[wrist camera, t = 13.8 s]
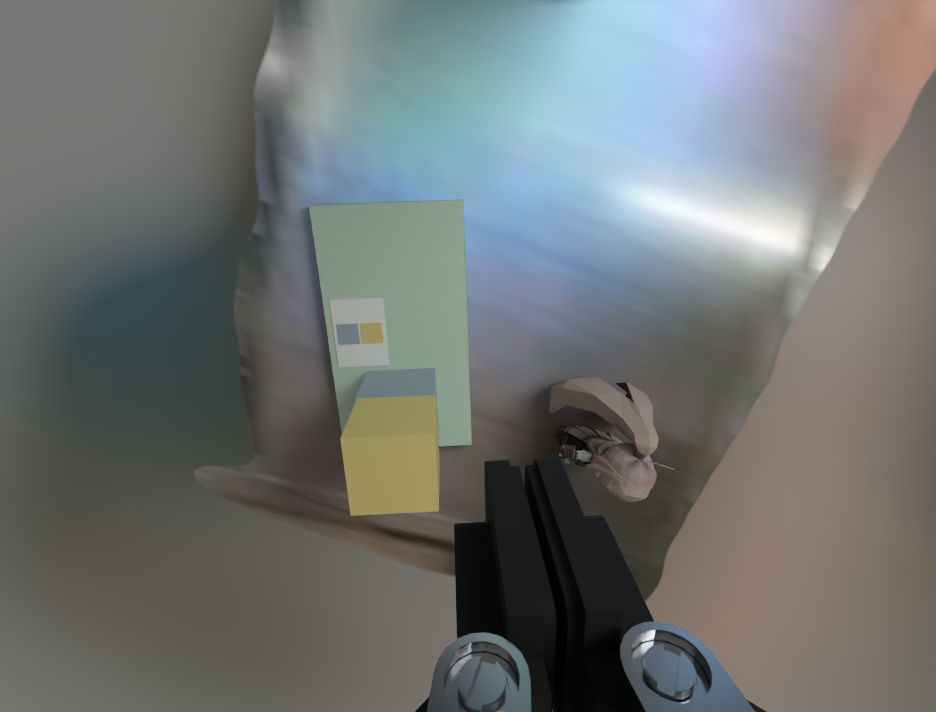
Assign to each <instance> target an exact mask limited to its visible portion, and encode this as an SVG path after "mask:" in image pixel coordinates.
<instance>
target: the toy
mask: <svg viewBox="0 0 936 712" xmlns="http://www.w3.org/2000/svg"><path fill="white" fill-rule="evenodd" d="M616 384H617V385H618V386H620V387H621V388H622V389H623V390H625V391H626V392H627V394H626V396H624V395H623V394H622V393H621V392H619V391H618V390H616V389H615V388H613V387H612V386H610V385H609V384H607V383H606V382H605V381H603V380H602V379H600V378H599V377H577V378H573V379H569V380H565V381H562V382H558V383H555V384H553V385H551V393H550V414H552V413H553V412H555V411H557V410H559V409H561V408H562V407H564V406H566V405H568V406H572V407H576V408H579V409H583V410H587V411H591V412H594V413H596V414H598V415H599V416H601V417H602V418H603V419H605V420H606V421H608V422H609V423H611V424H612V425H613V426H615V427H616V428H617V429H618V430H619V431H621V432H622V433H623V434H624V435H625V436H626V437H628V438H629V439H630V440H631V441H632V442H633V444H631V443H623V442H622V441H620V440H619V439H617V438H616V437H614V436H612V435H611V434H609V433H606V434H605V433H604V432H602V431H600V430H596V429H593V428H589V427H584V426H575V427H577V428H578V429H580V430H578V429H576V428H574V427H571V426H562V427H560V428H558V430H561V431H565V432H567V433H558V436H557V442H559V443H560V444H561V445H562V447H560V450H559V453H562V454H559V456H562V457H563V458H561V462H562V465H563V466H565V465H566V464H569V463H571V464H573V463H574V462H575V463H576V464H577V465H579V466H583V467H586V470H588V468H594V470H595V473H596V477H597V478H598V477H599V475H600V474H601V482H602V484H603V485H604V486H605V487H606V488H607V489H608V490H609V491H610V492H611V493H612V494H613V495H614V496H616V497H618V498H619V499H621V500H623V501H625V502H635V501H640V500H643V499H645V498H647V496H648V494H649V491H650V489H651V488H652V487H653V485H654V483H655V480H656V476H657V475H656V471H655V470H654V466H653V463H654V462H652V461H651V458H650V456H649V455H650V454H652V453H653V452H654V451H655V450H656V449H657V445H658V439H659V438H658V435H657V433H656V431H655V428H654V426H653V407H652V404H651V402H650V400H649V398H648V396H647V394H645V393H643V392H641V391H640V390H638V389H636V388H635V387H633V386H631V385H630V384H628V383H616ZM628 398H629V399H631V401H630V400H629V399H628ZM591 429H592V430H596V431H597V433H595V432H593V431H592V430H591ZM568 433H570V434H568ZM610 437H611V438H612V440H611V438H610ZM561 450H562V451H561ZM654 464H657V463H654ZM657 465H660V464H657ZM660 466H663V465H660ZM663 467H667V466H663ZM667 468H670V467H667ZM670 469H673V468H670ZM673 470H674V469H673Z"/></svg>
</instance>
